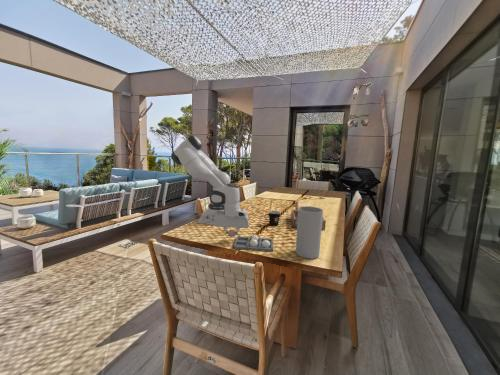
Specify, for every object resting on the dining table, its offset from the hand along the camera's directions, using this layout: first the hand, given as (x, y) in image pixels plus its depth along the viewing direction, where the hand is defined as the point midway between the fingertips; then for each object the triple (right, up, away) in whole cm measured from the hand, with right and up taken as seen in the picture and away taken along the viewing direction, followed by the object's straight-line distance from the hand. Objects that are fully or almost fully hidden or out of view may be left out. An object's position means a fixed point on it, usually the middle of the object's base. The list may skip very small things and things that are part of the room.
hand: (231, 234), depth 133 cm
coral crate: (+55, 0, +40) cm, 68 cm away
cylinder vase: (+42, -8, -12) cm, 45 cm away
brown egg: (0, -2, 0) cm, 2 cm away
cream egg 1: (+14, -5, -1) cm, 14 cm away
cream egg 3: (+20, -6, -8) cm, 22 cm away
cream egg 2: (+13, -6, -7) cm, 16 cm away
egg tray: (+13, -6, -4) cm, 15 cm away
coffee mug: (+27, -1, +35) cm, 44 cm away
